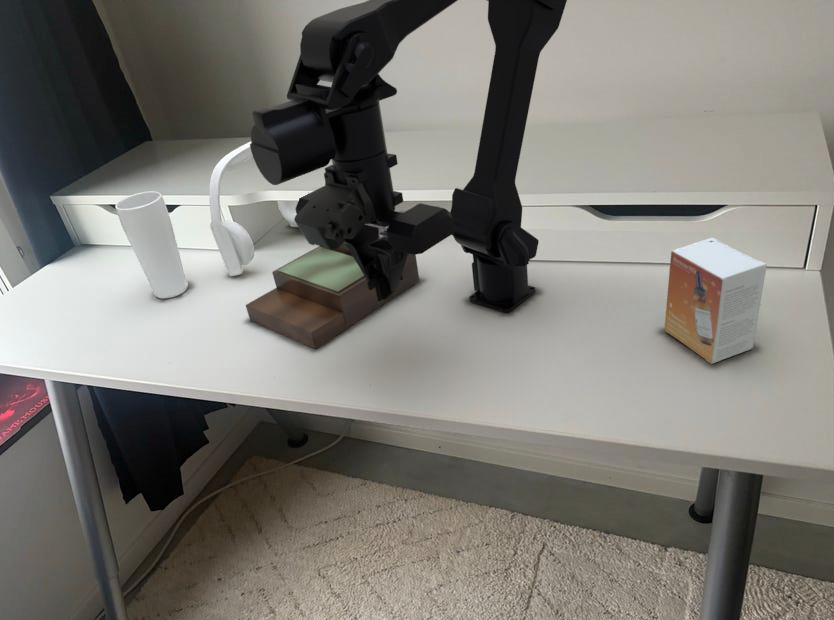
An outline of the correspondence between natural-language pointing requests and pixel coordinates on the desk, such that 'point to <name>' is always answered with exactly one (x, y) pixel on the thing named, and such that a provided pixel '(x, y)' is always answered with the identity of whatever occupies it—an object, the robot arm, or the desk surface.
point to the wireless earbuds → (378, 279)
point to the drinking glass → (153, 242)
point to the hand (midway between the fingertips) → (383, 286)
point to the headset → (230, 234)
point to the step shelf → (321, 295)
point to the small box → (714, 299)
